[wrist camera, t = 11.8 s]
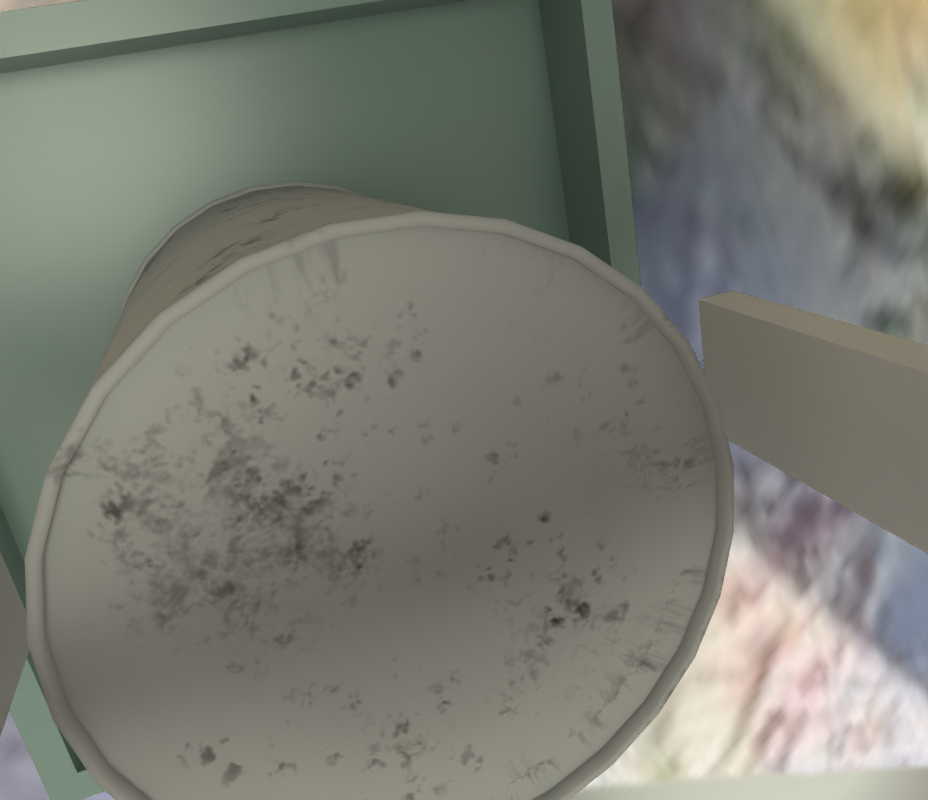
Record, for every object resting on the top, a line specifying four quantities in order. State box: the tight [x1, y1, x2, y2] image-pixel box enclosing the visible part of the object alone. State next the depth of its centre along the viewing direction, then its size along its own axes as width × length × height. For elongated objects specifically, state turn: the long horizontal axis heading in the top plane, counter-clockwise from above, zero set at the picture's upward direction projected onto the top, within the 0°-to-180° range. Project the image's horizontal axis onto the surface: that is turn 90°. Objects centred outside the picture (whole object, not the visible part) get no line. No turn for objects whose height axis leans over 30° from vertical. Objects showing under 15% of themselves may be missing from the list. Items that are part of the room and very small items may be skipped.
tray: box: [0, 0, 641, 800], centre depth 21 cm, size 18×18×3 cm
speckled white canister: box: [25, 181, 734, 800], centre depth 16 cm, size 10×10×12 cm
